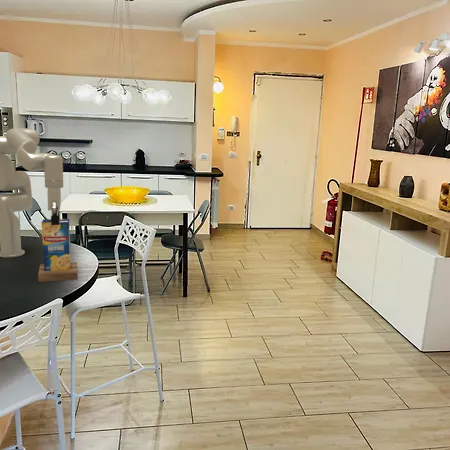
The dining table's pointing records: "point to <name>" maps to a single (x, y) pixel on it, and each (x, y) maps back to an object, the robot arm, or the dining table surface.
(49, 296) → the dining table surface
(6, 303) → the dining table surface
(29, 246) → the dining table surface
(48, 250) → the beverage box
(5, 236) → the robot arm
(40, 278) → the walnut base
